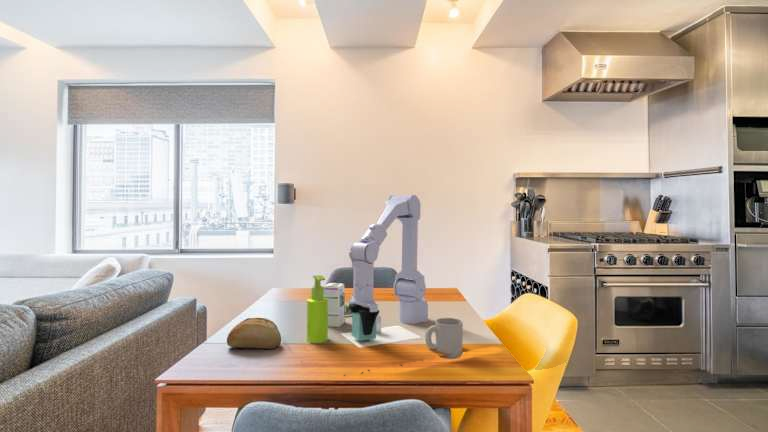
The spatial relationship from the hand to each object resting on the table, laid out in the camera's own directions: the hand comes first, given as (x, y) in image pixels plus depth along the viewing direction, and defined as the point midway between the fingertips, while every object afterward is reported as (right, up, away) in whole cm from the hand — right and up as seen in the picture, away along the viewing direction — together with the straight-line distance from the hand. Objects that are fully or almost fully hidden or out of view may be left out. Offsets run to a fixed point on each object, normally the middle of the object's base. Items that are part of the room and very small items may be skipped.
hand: (363, 331), depth 116 cm
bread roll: (-31, -4, -1) cm, 31 cm away
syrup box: (-10, -4, +17) cm, 20 cm away
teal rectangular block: (0, -2, 0) cm, 2 cm away
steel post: (+3, -2, +8) cm, 9 cm away
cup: (+22, -4, -7) cm, 23 cm away
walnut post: (0, -3, 0) cm, 2 cm away
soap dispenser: (-13, -4, 0) cm, 14 cm away
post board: (+5, -4, +5) cm, 8 cm away
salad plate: (-10, -4, +38) cm, 39 cm away
